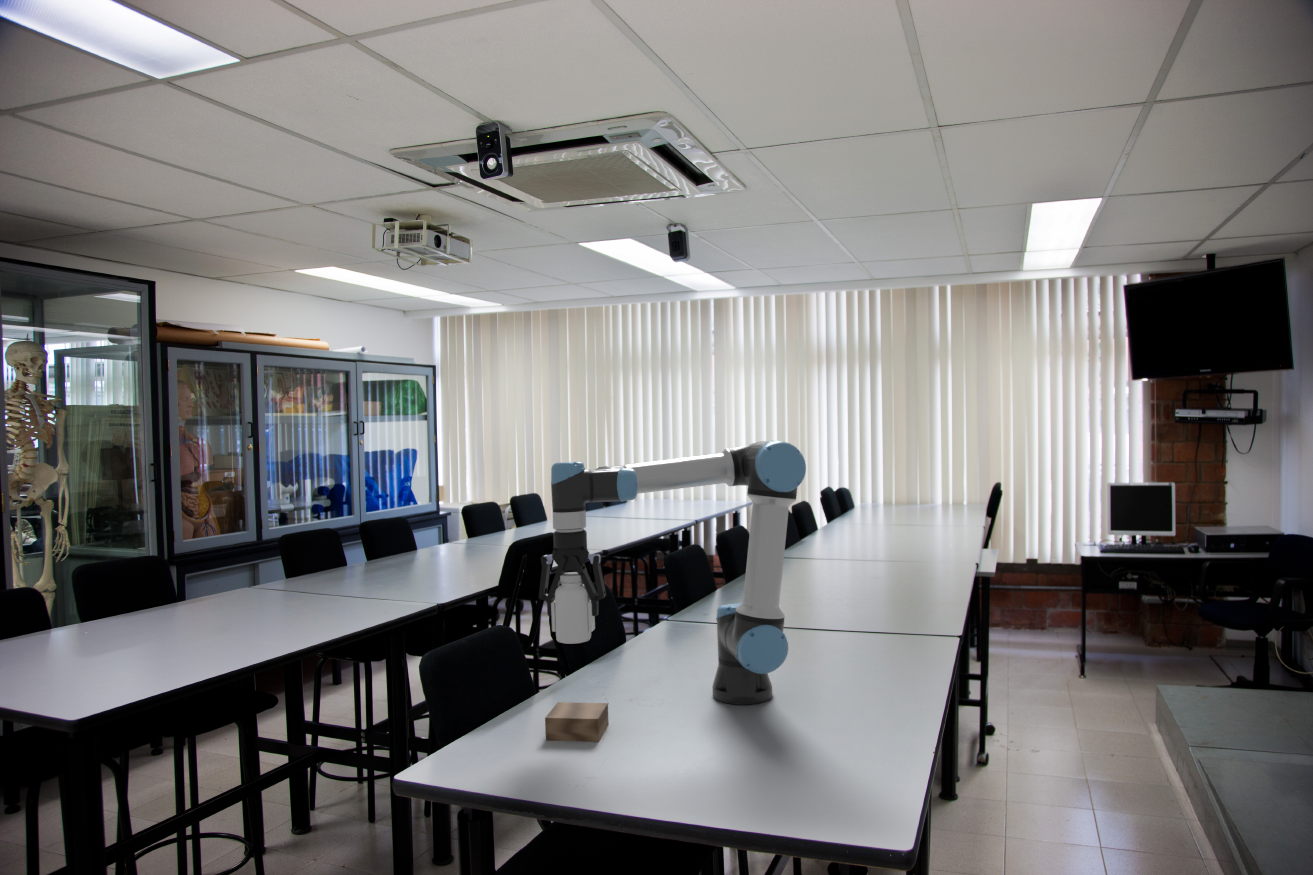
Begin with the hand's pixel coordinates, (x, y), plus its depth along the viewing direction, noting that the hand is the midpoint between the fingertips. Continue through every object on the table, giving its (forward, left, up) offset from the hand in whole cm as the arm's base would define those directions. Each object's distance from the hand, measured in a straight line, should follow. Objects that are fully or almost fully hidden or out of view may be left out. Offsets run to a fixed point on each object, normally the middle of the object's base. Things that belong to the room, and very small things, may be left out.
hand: (573, 629), depth 173 cm
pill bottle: (0, 0, -2) cm, 2 cm away
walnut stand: (0, 0, -23) cm, 23 cm away
